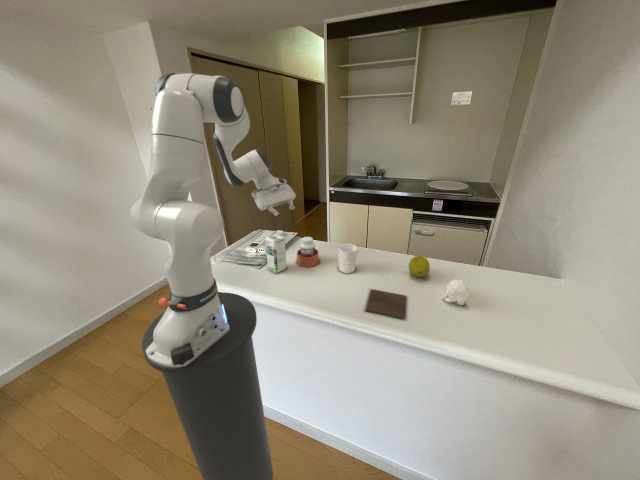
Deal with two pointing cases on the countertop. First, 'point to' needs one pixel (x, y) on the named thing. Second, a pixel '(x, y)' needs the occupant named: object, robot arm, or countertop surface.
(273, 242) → the syrup box
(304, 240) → the pill bottle
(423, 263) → the lemon
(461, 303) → the white lumpy piece
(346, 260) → the white cup
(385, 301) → the walnut board
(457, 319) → the countertop surface
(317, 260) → the orange round bowl
